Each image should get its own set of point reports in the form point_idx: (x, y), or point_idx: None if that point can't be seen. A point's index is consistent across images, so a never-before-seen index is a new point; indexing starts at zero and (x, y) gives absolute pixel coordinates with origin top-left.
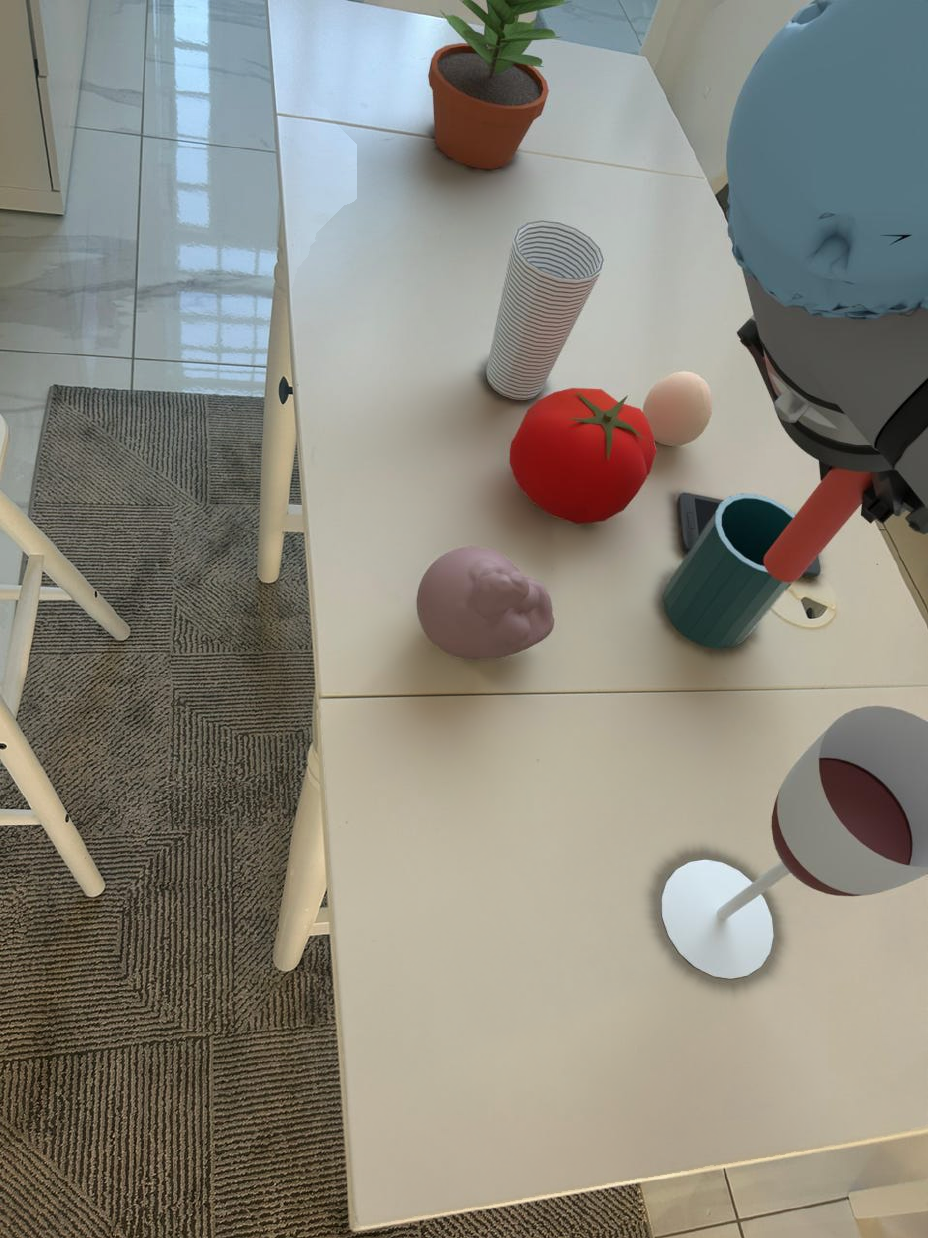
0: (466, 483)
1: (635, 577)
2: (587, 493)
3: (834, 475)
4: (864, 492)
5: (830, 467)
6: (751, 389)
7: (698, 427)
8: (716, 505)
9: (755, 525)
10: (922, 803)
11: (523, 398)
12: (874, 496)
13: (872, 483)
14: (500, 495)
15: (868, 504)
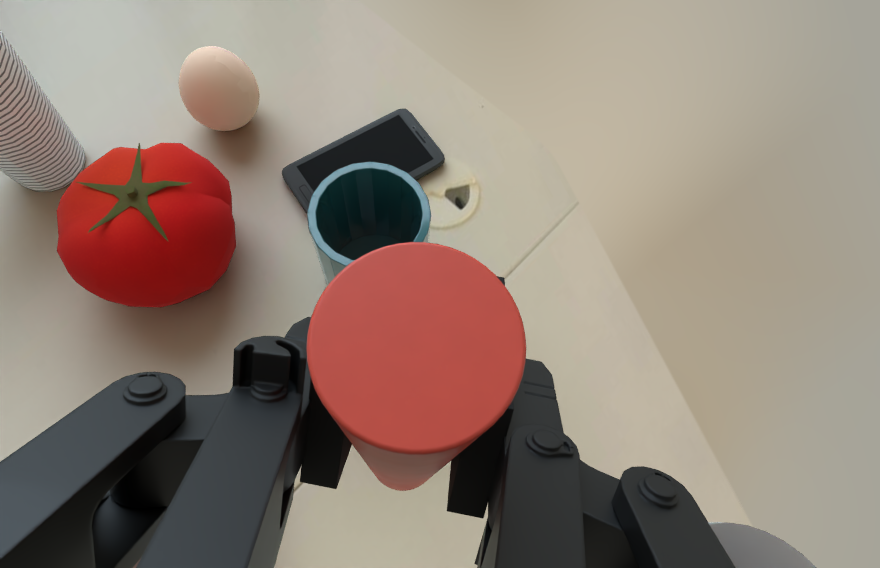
0: (74, 325)
1: (295, 294)
2: (180, 278)
3: (368, 465)
4: (450, 508)
5: (350, 447)
6: (280, 3)
7: (249, 98)
8: (319, 158)
9: (359, 191)
10: (736, 554)
11: (72, 180)
12: (476, 508)
13: (453, 486)
14: (116, 310)
15: (477, 555)
